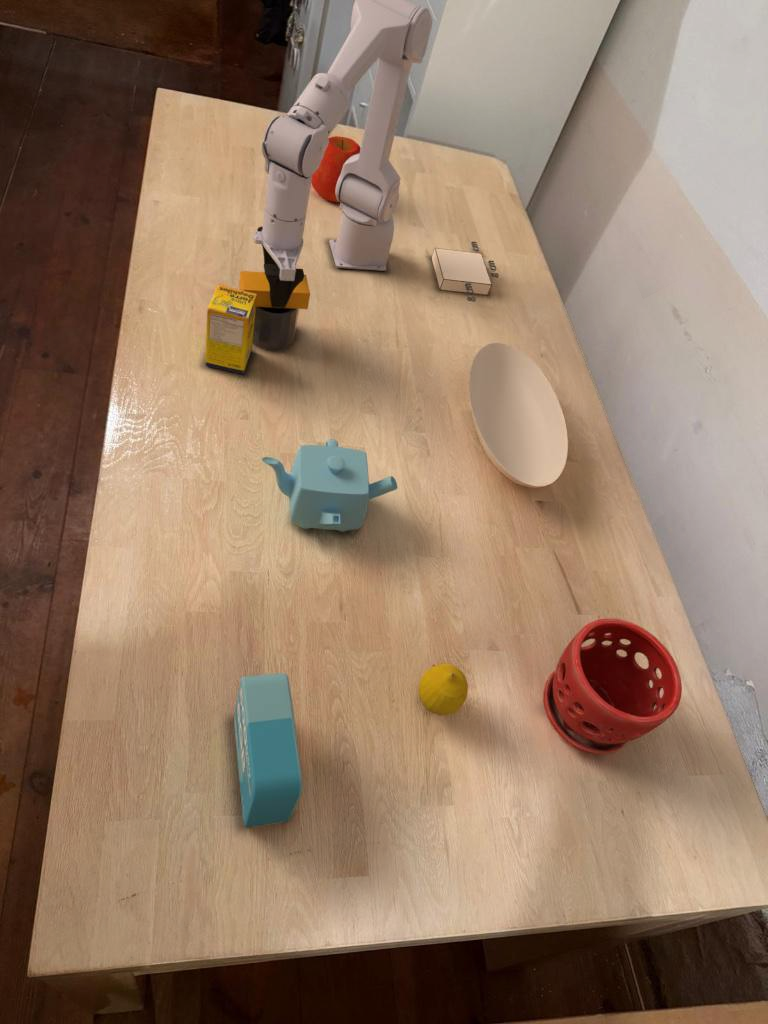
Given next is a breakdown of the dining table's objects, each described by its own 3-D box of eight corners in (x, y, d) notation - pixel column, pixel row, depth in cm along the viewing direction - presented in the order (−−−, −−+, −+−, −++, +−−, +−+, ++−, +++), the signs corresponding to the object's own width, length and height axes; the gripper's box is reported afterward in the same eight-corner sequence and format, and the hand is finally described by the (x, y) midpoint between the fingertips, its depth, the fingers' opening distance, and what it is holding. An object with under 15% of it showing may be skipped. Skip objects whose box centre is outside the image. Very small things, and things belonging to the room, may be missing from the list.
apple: (337, 172, 153) (347, 120, 145) (372, 200, 150) (383, 149, 142) (297, 182, 148) (304, 129, 139) (331, 212, 144) (341, 160, 136)
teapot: (384, 479, 107) (400, 432, 99) (390, 561, 98) (409, 517, 90) (257, 467, 103) (264, 417, 95) (253, 552, 94) (260, 505, 87)
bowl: (447, 364, 125) (458, 336, 120) (530, 375, 128) (544, 348, 123) (472, 508, 107) (486, 481, 102) (567, 515, 110) (585, 490, 106)
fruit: (453, 730, 86) (475, 704, 80) (407, 718, 86) (426, 691, 80) (458, 687, 90) (480, 658, 83) (414, 675, 89) (432, 645, 83)
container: (426, 241, 145) (430, 229, 143) (481, 248, 148) (485, 236, 146) (444, 309, 134) (448, 297, 132) (503, 315, 137) (508, 303, 135)
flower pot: (651, 749, 90) (706, 711, 81) (559, 772, 86) (605, 736, 77) (604, 652, 97) (650, 607, 88) (517, 669, 93) (555, 624, 84)
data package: (233, 717, 81) (241, 671, 72) (274, 712, 83) (287, 666, 73) (243, 831, 75) (254, 797, 65) (288, 824, 76) (304, 790, 67)
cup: (290, 318, 123) (296, 283, 117) (297, 350, 119) (302, 315, 113) (242, 316, 121) (246, 280, 115) (247, 349, 116) (251, 313, 111)
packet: (303, 290, 117) (306, 274, 114) (307, 309, 114) (310, 293, 112) (239, 287, 114) (240, 270, 112) (241, 306, 111) (243, 289, 109)
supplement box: (251, 349, 116) (258, 292, 108) (243, 375, 113) (249, 318, 104) (214, 340, 116) (217, 282, 107) (204, 366, 112) (207, 308, 103)
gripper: (251, 177, 105) (244, 259, 116) (262, 239, 97) (253, 320, 108) (300, 182, 107) (289, 262, 118) (315, 243, 99) (301, 322, 110)
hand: (275, 290), depth 113 cm, fingers open, 7 cm apart
